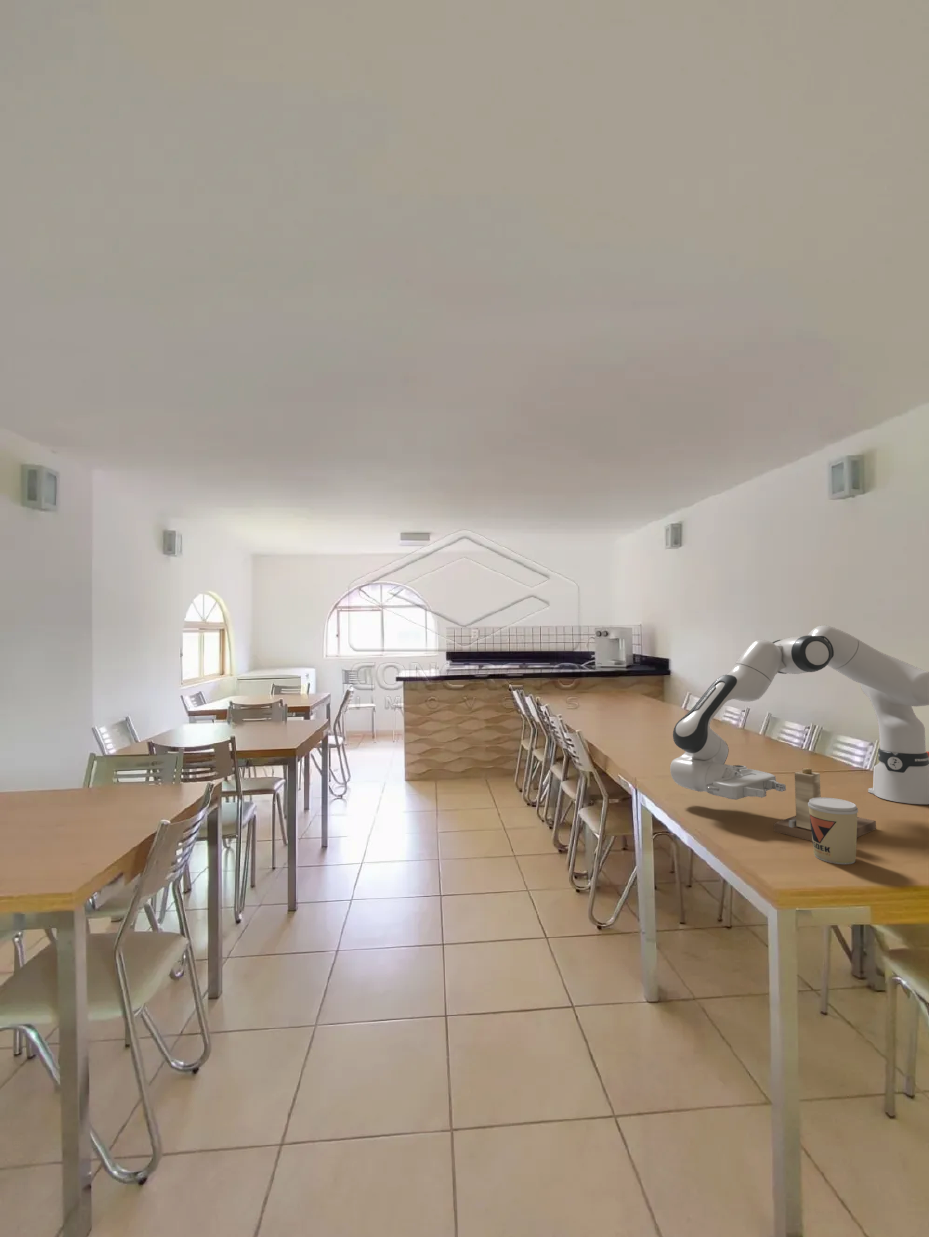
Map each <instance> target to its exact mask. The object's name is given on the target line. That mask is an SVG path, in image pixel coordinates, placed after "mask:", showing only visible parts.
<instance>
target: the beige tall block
mask: <svg viewBox="0 0 929 1237" xmlns="http://www.w3.org/2000/svg"><path fill="white" fill-rule="evenodd" d="M812 771H813V770H812V768H808V767H804V768H802V769H801V770H800V771H796V772H794V794H795V799H794V800H795V816H796V826H797V827H801V828H805V829H809V830H811V823H810V813H809V806H808V802H809V800H810V799H812V798H822V797H821V792H822V791H821V774H820V772H812Z"/></svg>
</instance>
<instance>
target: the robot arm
mask: <svg viewBox="0 0 929 1237" xmlns="http://www.w3.org/2000/svg"><path fill="white" fill-rule="evenodd" d="M826 666H828V667H830V668H831V669H833V670H835V671H836V672H838V673H839V674H842V675H844V676H845V677H846V678H849V679H850V680H852V681H853V682H856V683H859V685H860V689H861V691H862V692H863V694H865V696H866V697H867V698H868V700H869V702H870V703H871V706H872V709H873V710H874V713H875V716H876V720H877V725H878V736H879V737H878V739H879V748H878V750H877V751H878V752H877V756H878V758H877V759H878V761H879V762H878V763H877V764H875V765H874V767H873V779H872V782H873V783H872V787H869V788H867V791H868V793H870V794H872V795H875V796H876V797H878V798H880V799H883V800H887V801H891V802H897V803H903V804H910V805H911V804H912V805H929V750H928V751H926V748H927V747H926V727H925V726H924V723H923V722H922V720H920V719H919V718H918V716H917V715H916V713H915V712H914V709H913V707H925V706H927V707H928V706H929V671H928V670H925V669H922V668H918V667H917V666H914V665H912V664H910V663H908V662H905V661H903V660H901V659H900V658H899V659H898V658H896V657H894V656H892V655H888V654H886V653H883V652H881V651H879V650H878V649H876V648H874V647H872V646H870V645H868V643H865V642H863V641H862V640H860V639H859V638H857V637H855V636H853V635H851V634H850V633H847V632H846V631H843V630H841V629H839V628H836V627H833V626H830V625H827V624H826V625H825V624H824V625H818V626H816V627H814V628H813V629H811V630H810V631H809V632H808V634H807V635H803V636H801V635H799V636H791V637H787V638H784V639H778V640H775V641H773V642H771V641H769V640H765V639H757V640H754V641H752V642H751V643H750V644H749V645H748V646H747V647H746V648H745V650H743V652H742V653H741V655H739V657H738V659H737V660H736V662H735V663H734V665H733V666H732V667H731V669H730V670H729V671H728V672H727V673H726V674H723V675H720V676H719V677H718V678H716V679H715V680H714V681H713V682H712V683H711V685H710V686H709V687H708V688H707V690H706V691H705V692H704V693H703V694H702V695H701V697H700V698H699V699H698V701H697V702H696V703H695V704H694V705H693V707H691V709H690V710H689V711H688V712H687V713H686V714H685V715H684V716H683V717H681V718H680V719H679V720H678V721H677V722H676V723H675V726H674V728H673V732H672V738H673V739H672V740H673V743H674V744H675V745H676V746H677V747H678V748H680V749H681V750H682V751H684V753H682V754H681V755H680V756H678V757H675V758H674V759H672V760H671V763H670V768H669V771H670V776H671V779H672V780H673V782H674V783H675V784H677V785H678V786H680V787H682V788H685V789H689V790H692V791H696V792H700V793H701V792H705V793H708V794H709V795H713V796H718V797H722V798H726V799H729V800H739V799H745V798H747V797H750V798H751V797H752V798H753V797H754V798H755V797H756V798H757V797H758V798H761V799H762V798H765V797H767V792H768V791H771V790H776V792H785V791H787V787H786V783H782V782H778V781H777V778H776V776H775V775H774V774H773V773H770V772H767V771H761V770H758V769H752V768H748V767H747V766H746V765H739V764H737V765H736V764H735V765H732V764H726V761H727V758H728V757H729V746H728V743H727V741H726V740H724V739H723V738H722V737H721V736H720V735H719V733H716V732H715V731H714V730H713V729H712V728H711V725H710V724H711V722H712V720H713V719H714V718H715V716H716V715H717V714H718V713H719V712H720V711H721V709H722V708H723V706H724V705H725V704H726V703H727V702H729V701H731V700H734V701H735V700H736V701H740V702H746V703H747V702H754V701H757V700H760V699H761V698H762V697H763V696H764V695H765V693H766V692H767V691H768V689H769V688H770V686H771V685H772V682H773V680H774V679H775V676H776V675H777V674H784V675H786V674H787V675H788V674H790V675H791V674H792V675H799V674H805V673H815V672H818V671H820V670H822V669H824V668H826Z"/></svg>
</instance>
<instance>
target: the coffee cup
mask: <svg viewBox="0 0 929 1237" xmlns="http://www.w3.org/2000/svg"><path fill="white" fill-rule="evenodd" d="M808 806H809V813H810V823H811V832H812V841H811V842H812V847H813V848H812V849H813V855H814V857H815V858H817V859H819V860H820V861H823V862H826V863H831V864H834V865H835V864H836V865H851V864H854V863H855V862H856V859H857V840H858V839H857V838H858V837H857V817H858V813H859V809H858V808H859V807H857V804H855V803H854V802H851V801H850V800H847V799H846V800H845V799H841V798H833V797H821V798H812V799H810V800H809V802H808Z"/></svg>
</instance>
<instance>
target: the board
mask: <svg viewBox="0 0 929 1237" xmlns="http://www.w3.org/2000/svg"><path fill="white" fill-rule="evenodd" d="M875 830H877V821H876V820H872V819H868V818H866V817H865V818H864V817H859V816H857V838H859V837H861V836H863V835H866V834H868V833H870V832H873V831H875ZM773 832H776V833H780V834H783V835H788V836H791V837H795V838H798V839H802V840H807V841H810V842H813V841H812V832H811V830H809V829H805V828H801V827H797V826H796V815H794V816H791V817H788V818H785V819H782V820H779V821H777V822H773Z"/></svg>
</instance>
